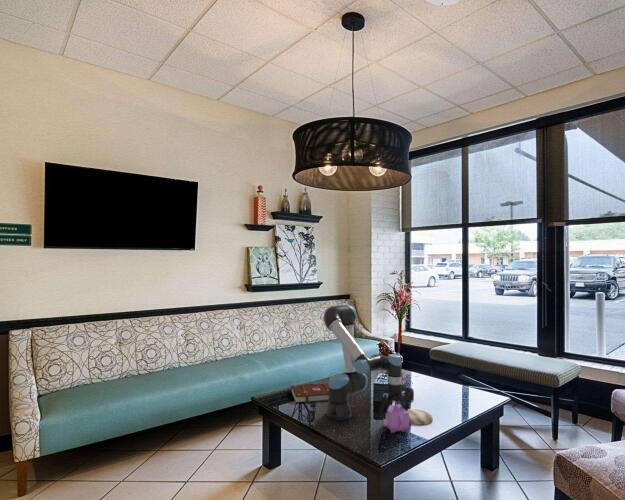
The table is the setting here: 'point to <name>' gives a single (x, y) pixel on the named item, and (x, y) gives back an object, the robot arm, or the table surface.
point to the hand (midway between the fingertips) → (394, 423)
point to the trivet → (419, 417)
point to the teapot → (397, 418)
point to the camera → (409, 392)
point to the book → (310, 392)
